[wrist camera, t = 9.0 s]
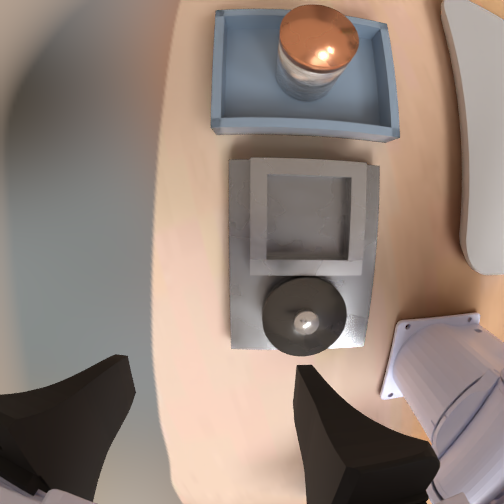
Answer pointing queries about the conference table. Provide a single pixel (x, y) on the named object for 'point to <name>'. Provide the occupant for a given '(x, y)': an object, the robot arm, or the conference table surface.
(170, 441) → the conference table surface
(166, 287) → the conference table surface
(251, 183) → the base
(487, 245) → the tablet
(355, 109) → the parts tray
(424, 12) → the conference table surface
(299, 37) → the copper lid glass jar
